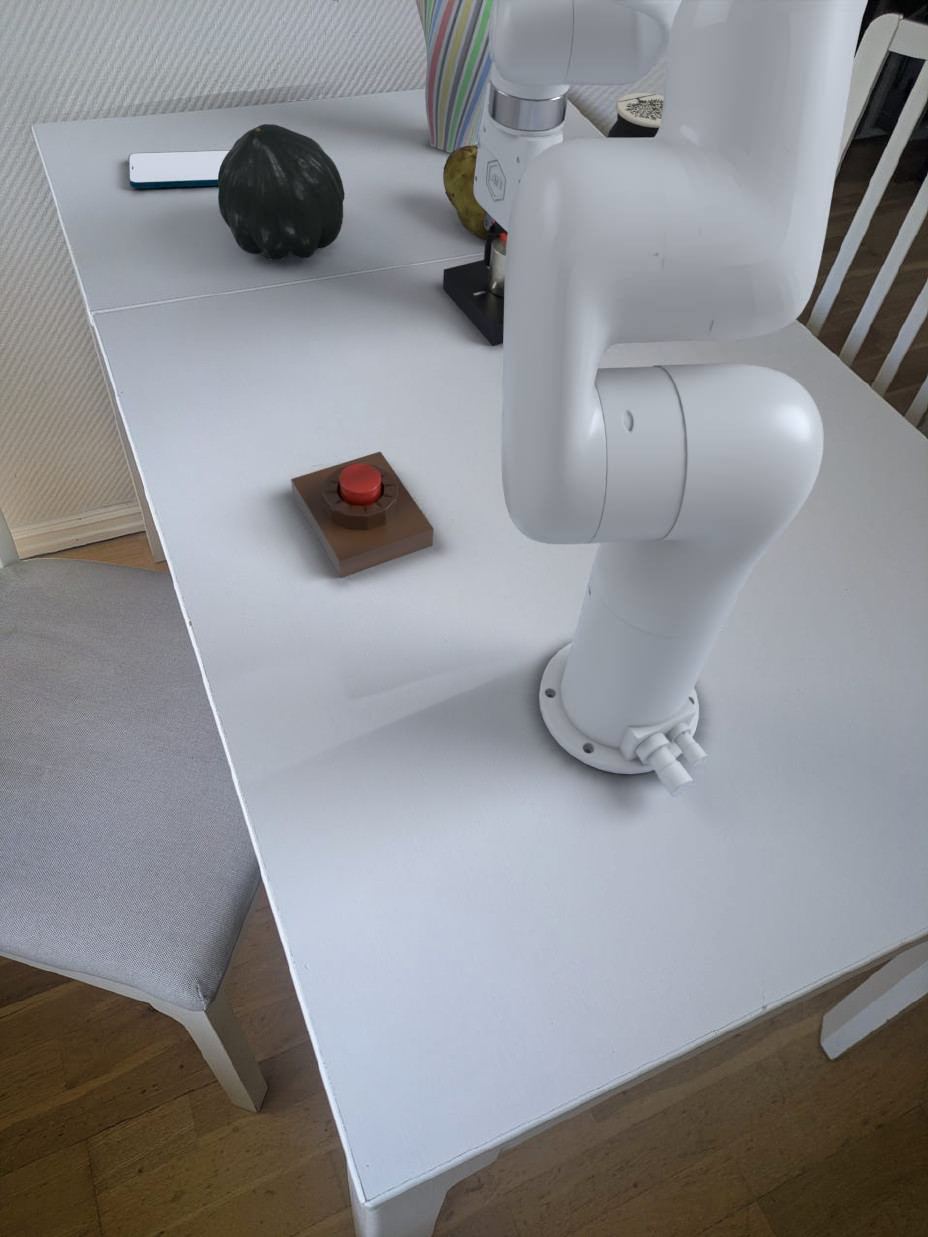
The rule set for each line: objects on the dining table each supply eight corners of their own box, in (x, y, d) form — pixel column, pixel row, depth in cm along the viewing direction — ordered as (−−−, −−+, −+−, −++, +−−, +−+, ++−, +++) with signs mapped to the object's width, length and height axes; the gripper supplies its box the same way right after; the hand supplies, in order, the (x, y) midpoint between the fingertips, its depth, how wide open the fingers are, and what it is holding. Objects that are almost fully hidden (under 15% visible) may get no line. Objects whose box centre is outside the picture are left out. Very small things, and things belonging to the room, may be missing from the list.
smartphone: (253, 155, 122) (129, 159, 119) (252, 148, 122) (128, 152, 118) (258, 185, 118) (130, 190, 115) (258, 178, 117) (128, 183, 114)
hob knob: (533, 292, 102) (539, 248, 98) (499, 301, 101) (504, 257, 97) (513, 272, 105) (519, 228, 100) (480, 280, 103) (484, 236, 99)
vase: (519, 141, 130) (547, -122, 106) (469, 177, 122) (487, -96, 99) (440, 113, 134) (450, -147, 110) (387, 147, 126) (386, -123, 102)
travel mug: (661, 272, 111) (700, 119, 97) (604, 282, 109) (635, 127, 95) (631, 238, 115) (664, 87, 101) (575, 247, 113) (601, 94, 99)
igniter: (432, 545, 81) (434, 514, 78) (340, 578, 78) (338, 547, 75) (380, 468, 87) (380, 436, 84) (292, 495, 84) (289, 464, 81)
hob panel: (568, 324, 103) (572, 304, 101) (492, 346, 100) (494, 325, 98) (515, 270, 109) (518, 249, 107) (442, 288, 106) (443, 267, 104)
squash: (345, 158, 112) (256, 68, 101) (383, 224, 105) (291, 136, 93) (268, 239, 117) (174, 163, 105) (299, 309, 109) (202, 235, 98)
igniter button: (387, 499, 80) (387, 484, 78) (350, 511, 78) (349, 497, 77) (370, 473, 81) (370, 458, 80) (333, 485, 80) (332, 470, 79)
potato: (460, 253, 111) (464, 189, 104) (435, 200, 118) (438, 137, 112) (524, 248, 113) (532, 184, 106) (496, 195, 120) (502, 133, 114)
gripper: (452, 73, 90) (443, 244, 105) (539, 149, 82) (517, 324, 96) (516, 62, 93) (500, 231, 107) (608, 135, 84) (576, 308, 98)
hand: (508, 273), depth 101 cm, fingers closed on hob knob, 4 cm apart
